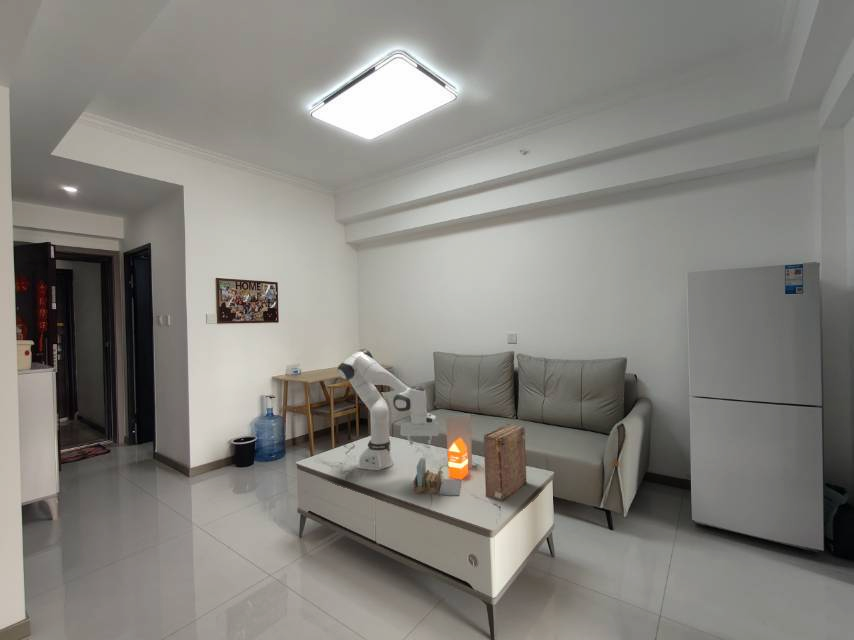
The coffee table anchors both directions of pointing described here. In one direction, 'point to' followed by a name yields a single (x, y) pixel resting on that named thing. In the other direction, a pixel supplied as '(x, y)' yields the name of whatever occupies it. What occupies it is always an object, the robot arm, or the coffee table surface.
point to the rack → (427, 489)
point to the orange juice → (458, 460)
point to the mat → (450, 487)
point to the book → (504, 461)
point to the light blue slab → (421, 472)
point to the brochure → (459, 432)
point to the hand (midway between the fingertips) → (420, 444)
